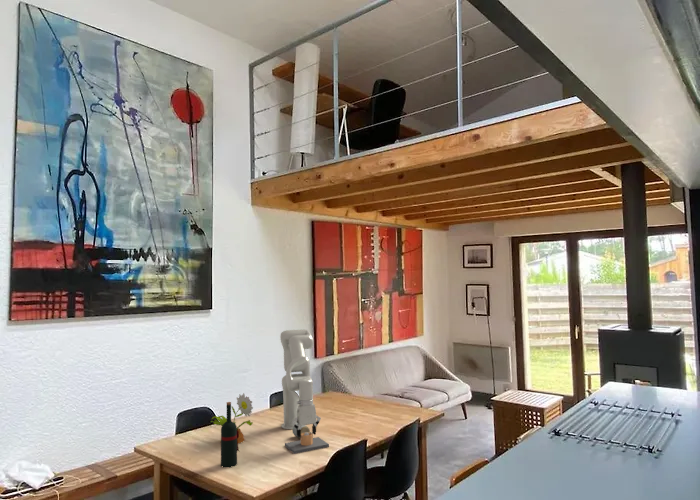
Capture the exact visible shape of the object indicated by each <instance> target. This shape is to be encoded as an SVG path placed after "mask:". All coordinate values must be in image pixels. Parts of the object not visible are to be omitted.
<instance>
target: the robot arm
mask: <svg viewBox="0 0 700 500" xmlns="http://www.w3.org/2000/svg"><path fill="white" fill-rule="evenodd" d="M279 337H280V339H279V340H280V343H281V345H282V348H283V368H284V372H285V375H284V376H283V377H282V378H281V387H282V394H283V395H282V396H283V423H281V425H280V427H281V428H282V429H284V430H293V426H294V427H295V428H296V429H297V436H298V437H297V436H296V437H297V438H299V437H301V430H300V427H301V426H302V425H306V426H307V425H312V426H311V433H312V434H313V435H314V436H315V435H316V433H317V427H318V425H319V424H320V421H321V419H322V417H321V416H318V415H317V412H316V411H317V410H316V406H315V405H316V404H315V403H314V381H313V379H312V377H311V371H310V370H311V367H310V366H311V365H310V360H309V358H308V356H307V354H306V350H311V349H313V347H314V339H313V336H312V334H311V332H310V331H309V330H308V329H288V330H287V329H286V330H283V331H281V332H280V335H279ZM298 372H299V373H298ZM296 391H297V392H298V393H297V392H296ZM296 423H298V424H297V425H296Z"/></svg>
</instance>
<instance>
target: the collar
mask: <svg viewBox="0 0 700 500" xmlns="http://www.w3.org/2000/svg"><path fill="white" fill-rule="evenodd" d="M307 433H308V432H307ZM304 434H305V433H302V434H301V438H300V440H301V445H305V446H308V445H311V444H313V438H314V436H313V435H314V434H313V433H312V432H311V433H309V435H307V436H306V435H304Z"/></svg>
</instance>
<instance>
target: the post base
mask: <svg viewBox="0 0 700 500" xmlns="http://www.w3.org/2000/svg"><path fill="white" fill-rule="evenodd" d="M304 435H306V436H307V435H309V433H307V432H306V433H305V434H304ZM284 447H285V448H286V449H288V450H289V451H290V452H291V453H292V454H295V455H296V454H300V453H306V452H311V451H315V450H320V449H321V450H322V449H325V448H329V447H330V443H328V442H326V441H325V440H323V439H322V438H320V437H319V436H317V437H313V444H311V445H308V446H305V445H301V439H300V440H296V441H295V440H294V441H290V442H284Z"/></svg>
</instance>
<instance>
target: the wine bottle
mask: <svg viewBox="0 0 700 500" xmlns="http://www.w3.org/2000/svg"><path fill="white" fill-rule="evenodd" d="M226 418H227V422H225V423H224V424H223V425H222V426H220V427H221V428H220V467H221V466H223V467H222V468H224V467H229V468H232V467H231V466H234V467H236V466H237V465H238V452H240V450H239V444H238V441H237V438H239V431H237V427H238V426H237V424H236V422H235V421H232V401H228V402H226ZM234 422H235V423H234ZM236 464H237V465H236ZM235 465H236V466H235Z"/></svg>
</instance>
